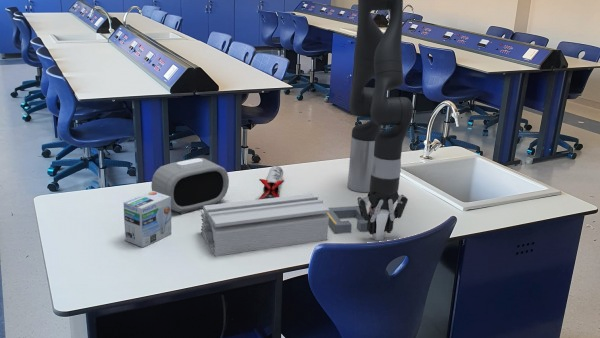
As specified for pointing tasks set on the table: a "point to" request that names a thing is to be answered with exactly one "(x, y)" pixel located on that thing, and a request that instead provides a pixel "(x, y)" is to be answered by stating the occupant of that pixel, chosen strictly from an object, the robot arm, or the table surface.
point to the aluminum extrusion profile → (264, 223)
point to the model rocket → (272, 182)
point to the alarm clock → (191, 183)
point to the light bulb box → (147, 218)
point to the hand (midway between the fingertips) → (379, 232)
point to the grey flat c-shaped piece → (345, 212)
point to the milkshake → (380, 224)
